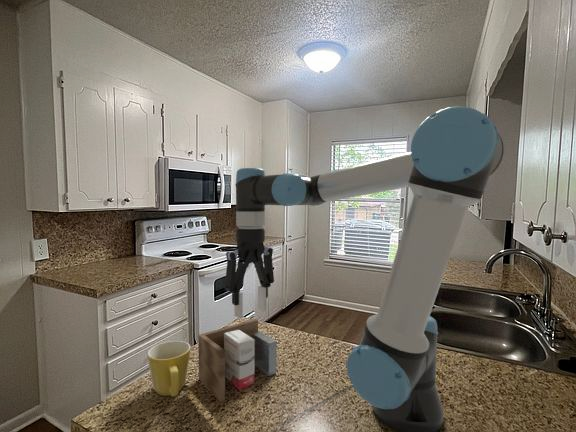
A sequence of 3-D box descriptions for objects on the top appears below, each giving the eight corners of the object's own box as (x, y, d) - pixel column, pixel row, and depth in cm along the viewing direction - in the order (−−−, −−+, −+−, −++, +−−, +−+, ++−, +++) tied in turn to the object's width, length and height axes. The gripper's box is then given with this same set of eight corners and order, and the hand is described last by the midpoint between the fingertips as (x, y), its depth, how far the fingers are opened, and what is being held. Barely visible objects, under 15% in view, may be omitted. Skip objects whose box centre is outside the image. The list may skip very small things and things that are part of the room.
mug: (150, 381, 84) (150, 342, 84) (190, 375, 87) (190, 338, 87) (142, 414, 71) (142, 369, 71) (190, 406, 74) (190, 363, 74)
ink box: (255, 383, 82) (255, 338, 81) (238, 390, 79) (238, 344, 78) (238, 369, 89) (239, 328, 88) (222, 375, 86) (222, 332, 85)
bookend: (276, 373, 87) (276, 341, 86) (268, 376, 85) (269, 343, 85) (259, 361, 93) (259, 331, 92) (252, 364, 91) (252, 333, 91)
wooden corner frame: (280, 379, 86) (281, 332, 85) (220, 406, 74) (220, 352, 74) (255, 361, 95) (255, 319, 94) (198, 383, 84) (198, 334, 83)
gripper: (270, 225, 93) (270, 302, 94) (209, 228, 80) (210, 318, 81) (287, 226, 88) (287, 308, 89) (224, 230, 74) (225, 326, 75)
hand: (250, 313), depth 85 cm, fingers open, 7 cm apart
